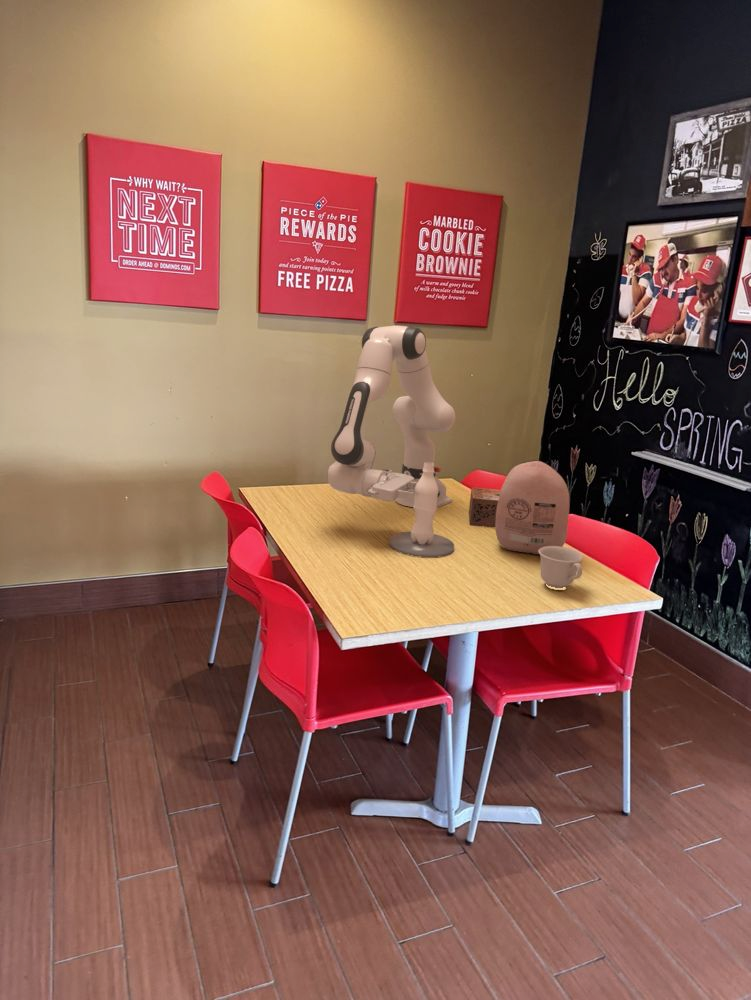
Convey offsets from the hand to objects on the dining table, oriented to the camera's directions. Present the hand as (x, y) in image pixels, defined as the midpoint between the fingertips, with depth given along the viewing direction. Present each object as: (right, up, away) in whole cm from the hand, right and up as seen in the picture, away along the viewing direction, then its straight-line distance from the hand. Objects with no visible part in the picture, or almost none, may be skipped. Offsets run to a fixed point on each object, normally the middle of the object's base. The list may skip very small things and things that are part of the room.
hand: (418, 491), depth 220 cm
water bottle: (+1, -16, +4) cm, 16 cm away
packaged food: (+34, -19, +5) cm, 40 cm away
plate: (+1, -17, +4) cm, 17 cm away
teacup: (+37, -27, -22) cm, 51 cm away
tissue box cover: (+33, -11, +34) cm, 48 cm away
